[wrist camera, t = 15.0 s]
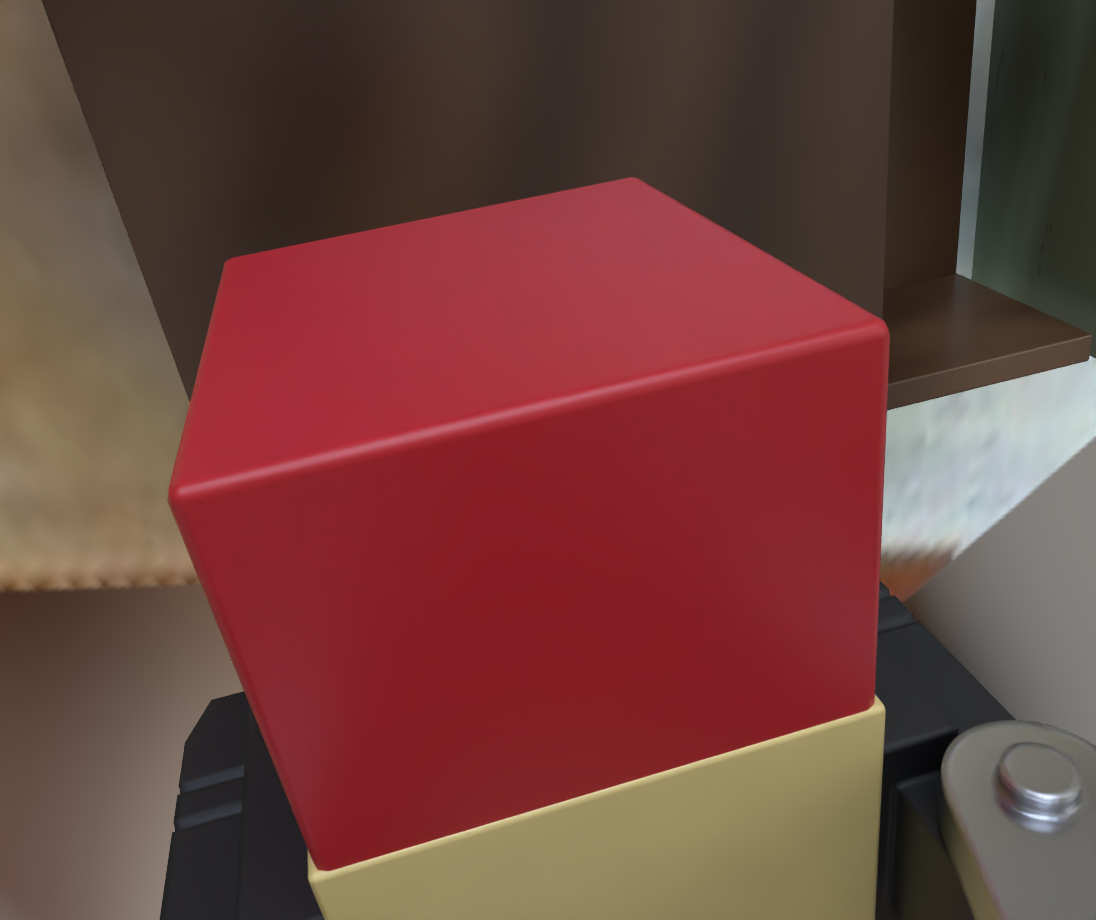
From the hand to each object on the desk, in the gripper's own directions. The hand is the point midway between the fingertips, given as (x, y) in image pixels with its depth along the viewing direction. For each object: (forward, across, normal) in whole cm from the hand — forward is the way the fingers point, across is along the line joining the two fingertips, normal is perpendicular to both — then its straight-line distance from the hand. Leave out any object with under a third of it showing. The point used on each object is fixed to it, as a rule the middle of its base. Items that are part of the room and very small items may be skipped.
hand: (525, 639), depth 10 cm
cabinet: (+20, -3, 0) cm, 20 cm away
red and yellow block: (+1, 0, 0) cm, 1 cm away
